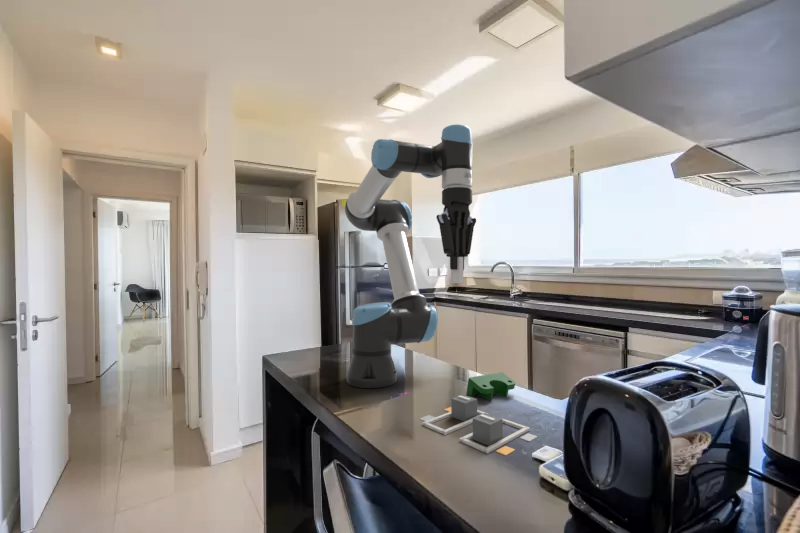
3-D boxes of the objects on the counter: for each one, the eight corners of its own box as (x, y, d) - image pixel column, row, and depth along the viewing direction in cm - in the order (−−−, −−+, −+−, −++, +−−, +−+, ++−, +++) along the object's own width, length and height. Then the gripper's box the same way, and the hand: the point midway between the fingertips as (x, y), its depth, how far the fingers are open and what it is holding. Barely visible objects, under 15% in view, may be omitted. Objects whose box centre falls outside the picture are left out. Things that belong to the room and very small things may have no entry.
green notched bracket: (484, 420, 95) (477, 393, 91) (469, 407, 100) (463, 380, 96) (520, 397, 99) (515, 370, 95) (504, 385, 104) (499, 359, 100)
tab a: (451, 416, 83) (451, 397, 83) (462, 412, 86) (462, 393, 86) (465, 422, 80) (465, 401, 80) (477, 417, 83) (477, 397, 83)
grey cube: (472, 439, 72) (472, 416, 72) (485, 433, 75) (485, 411, 75) (490, 446, 69) (490, 423, 69) (502, 439, 72) (502, 417, 72)
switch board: (407, 425, 81) (407, 418, 81) (460, 405, 93) (460, 398, 93) (503, 469, 63) (503, 460, 63) (554, 437, 75) (554, 429, 75)
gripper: (451, 182, 87) (451, 284, 87) (484, 190, 96) (485, 282, 96) (428, 187, 93) (428, 283, 93) (461, 194, 101) (462, 281, 101)
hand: (457, 282), depth 94 cm, fingers closed
